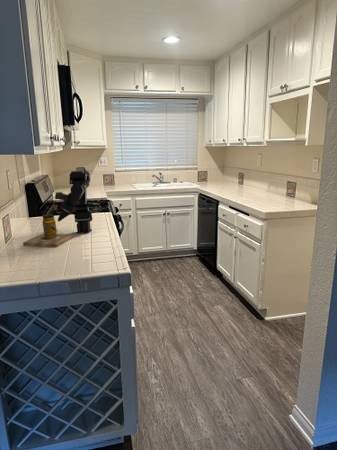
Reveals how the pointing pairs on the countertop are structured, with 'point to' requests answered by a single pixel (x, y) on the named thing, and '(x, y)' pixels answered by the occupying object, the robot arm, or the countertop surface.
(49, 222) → the condiment
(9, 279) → the countertop surface
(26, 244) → the walnut board
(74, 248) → the countertop surface
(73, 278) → the countertop surface
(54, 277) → the countertop surface
